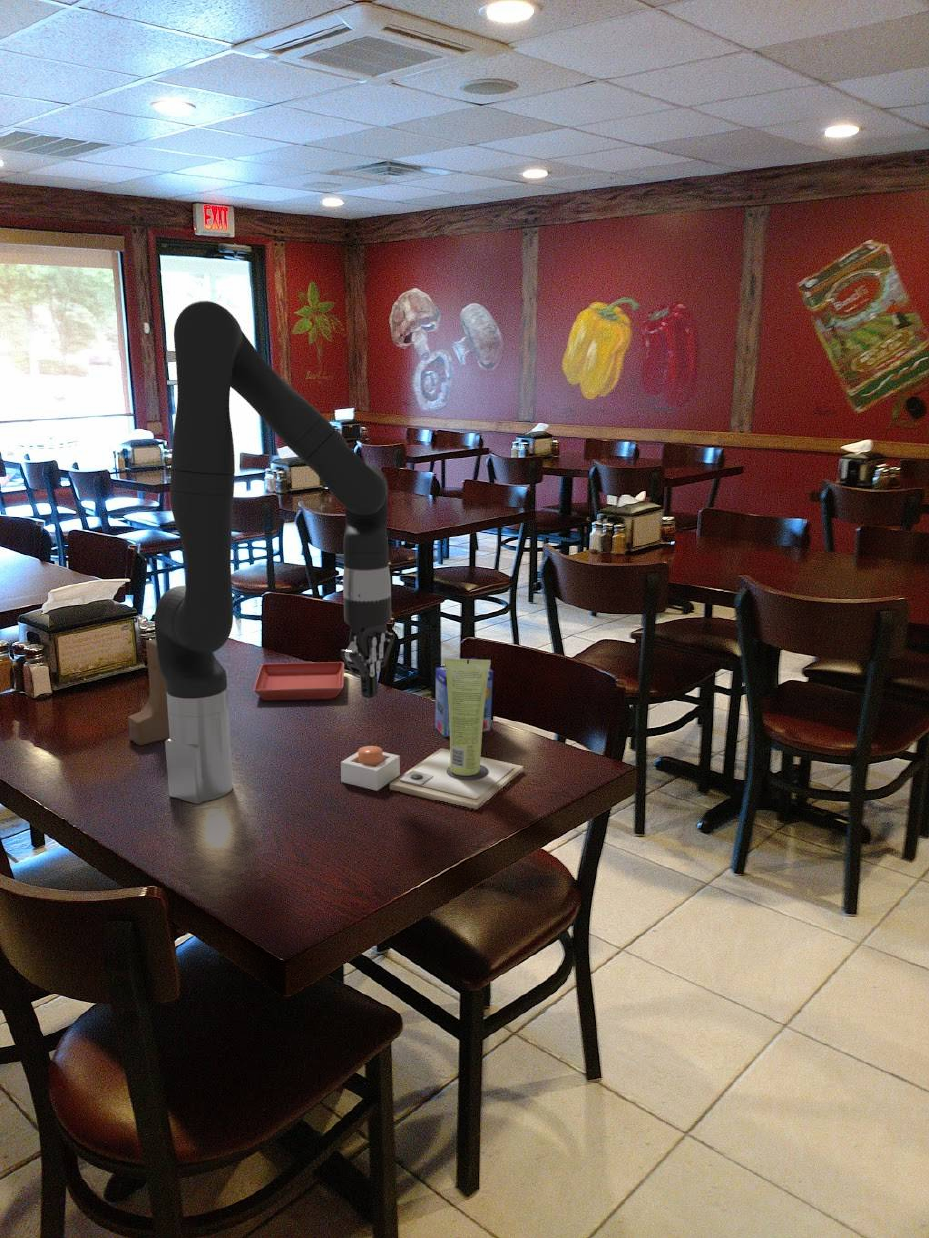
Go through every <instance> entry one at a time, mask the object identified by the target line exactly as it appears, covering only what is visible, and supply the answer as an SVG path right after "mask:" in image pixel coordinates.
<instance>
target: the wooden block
mask: <svg viewBox="0 0 929 1238" xmlns="http://www.w3.org/2000/svg"><path fill="white" fill-rule="evenodd" d="M145 644H146V657H147V658H146V659H147V668H148V680H149V681H148V683H149V685H148V686H149V694H148V695H149V696H148V701H147V703H146V704H145V706H144V707H143V709H142V710H140V711H139V712H136V713H133V714H131V715H129V716H128V717H127V722H128V723H127V725H128V733H129V734H128V735H129V740H131V741H132V742H134V743H135V744H137V745H138V746H144V745H148V744H152V743H156V742H159V741H162V740H168V739H170V735H169V721H168V706H167V693H166V692H167V691H166V683H165V680H164V678H163V676H162V674H161V671H160V667H159V661H158V653H157V645H156V638H152V639H149V640H146V641H145Z"/></svg>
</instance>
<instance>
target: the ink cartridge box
mask: <svg viewBox="0 0 929 1238" xmlns="http://www.w3.org/2000/svg"><path fill="white" fill-rule="evenodd" d="M470 659H474V660H477V657H471V658H470ZM493 677H494V671H493V670H492V669H491V668H490V669H489V674H488V681H487V688H486V696H485V705H484V716H483V728H482V733H483V732H490V731H491V721H492V720H491V719H492V698H493V694H492V693H493ZM434 716H435V719H434V720H435V721H434V722H435V724H434V726H435V728H436V730H437V731H438V732H439V733H440V734H441V735H442V736H443V737H444V738H448V737H450V722H449V702H448V688H447V677H446V669H445V666H440V667H436V668H435V715H434Z"/></svg>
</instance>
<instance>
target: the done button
mask: <svg viewBox="0 0 929 1238" xmlns="http://www.w3.org/2000/svg"><path fill="white" fill-rule="evenodd" d="M357 752H358V763H360V764H364V765H368V766H373V767H375V766H377V765H379V764H380V763H382V762H383V752H384V751H383V748H381V747H380V746H377V745H366V746H362V747H360V748H358V751H357Z"/></svg>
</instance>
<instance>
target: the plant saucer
mask: <svg viewBox="0 0 929 1238" xmlns="http://www.w3.org/2000/svg"><path fill="white" fill-rule="evenodd" d="M344 670H345V662H343V661H335V662H334V661H333V662H332V661H327V662H323V661H322V662H283V663H279V662H278V663H263V664H261V665H260V668H259V671H258V675H257V678H256V680H255V683H254V686H253V691H254V692H255V694H257V696H259V697H260V698H261V699H262V700H264V701H291V700H293V701H294V700H295V701H296V700H298V701H299V700H300V701H301V700H331V699H335V698H336V697H337V696H338V695H339V694H340V693H341V691H342V690H343V688H344V680H345V679H344V676H345V671H344Z"/></svg>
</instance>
